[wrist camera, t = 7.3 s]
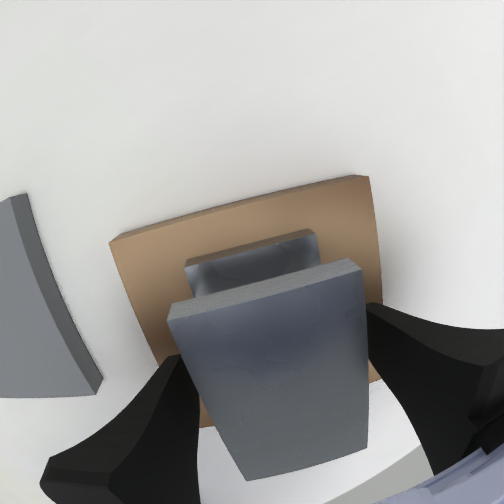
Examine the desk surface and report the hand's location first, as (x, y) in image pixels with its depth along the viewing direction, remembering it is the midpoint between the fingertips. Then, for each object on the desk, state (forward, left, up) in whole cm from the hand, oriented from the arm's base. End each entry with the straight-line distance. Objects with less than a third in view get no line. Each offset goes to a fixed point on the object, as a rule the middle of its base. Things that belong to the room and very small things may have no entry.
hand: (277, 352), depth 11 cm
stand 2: (0, 0, -3) cm, 3 cm away
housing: (0, 0, -2) cm, 2 cm away
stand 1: (+4, +15, -3) cm, 16 cm away
